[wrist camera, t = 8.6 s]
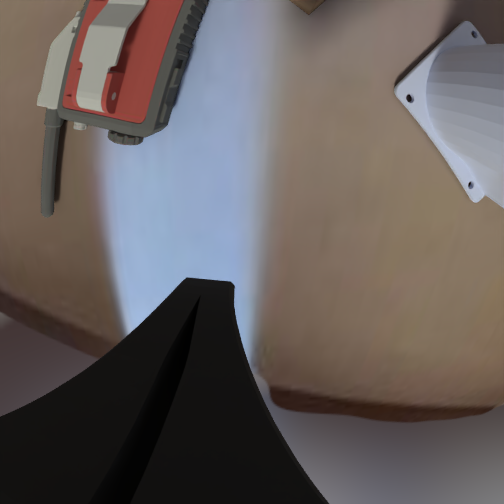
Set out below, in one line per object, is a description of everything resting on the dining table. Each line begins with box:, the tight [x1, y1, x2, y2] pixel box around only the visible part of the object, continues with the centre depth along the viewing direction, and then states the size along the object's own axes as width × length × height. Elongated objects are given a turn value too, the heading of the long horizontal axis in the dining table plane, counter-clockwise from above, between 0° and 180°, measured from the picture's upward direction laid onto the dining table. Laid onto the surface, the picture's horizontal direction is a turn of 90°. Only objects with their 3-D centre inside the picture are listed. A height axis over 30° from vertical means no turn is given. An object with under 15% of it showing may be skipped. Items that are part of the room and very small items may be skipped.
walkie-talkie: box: [37, 0, 208, 217], centre depth 13 cm, size 9×4×20 cm
